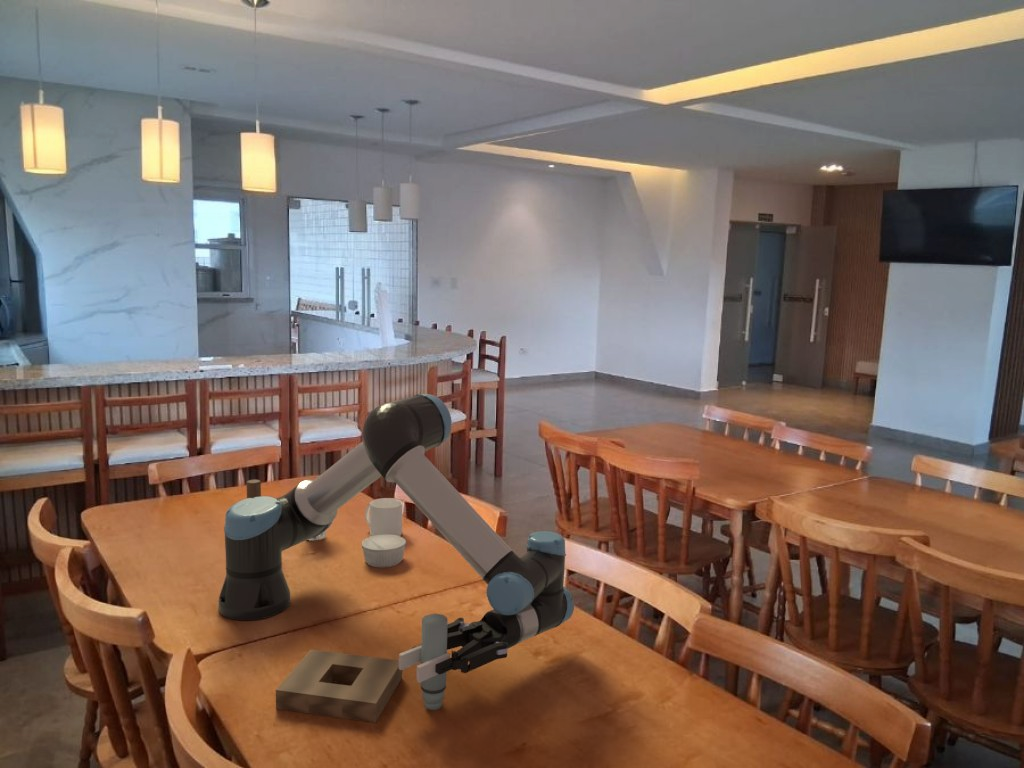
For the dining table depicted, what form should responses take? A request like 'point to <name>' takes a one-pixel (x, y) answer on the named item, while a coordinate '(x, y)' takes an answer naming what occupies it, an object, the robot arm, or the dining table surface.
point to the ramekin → (383, 550)
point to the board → (319, 696)
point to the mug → (384, 517)
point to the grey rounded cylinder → (430, 649)
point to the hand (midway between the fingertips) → (409, 668)
